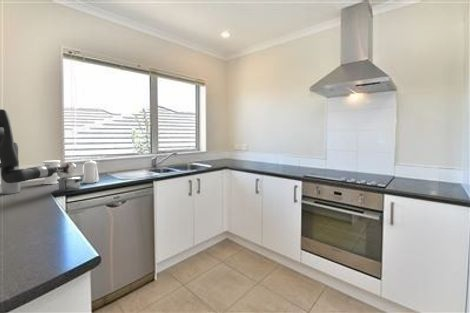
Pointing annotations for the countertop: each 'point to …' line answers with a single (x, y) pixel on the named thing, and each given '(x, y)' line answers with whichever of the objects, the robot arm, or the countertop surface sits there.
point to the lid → (67, 170)
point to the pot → (69, 184)
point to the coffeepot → (90, 172)
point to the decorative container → (54, 177)
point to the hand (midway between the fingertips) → (64, 168)
